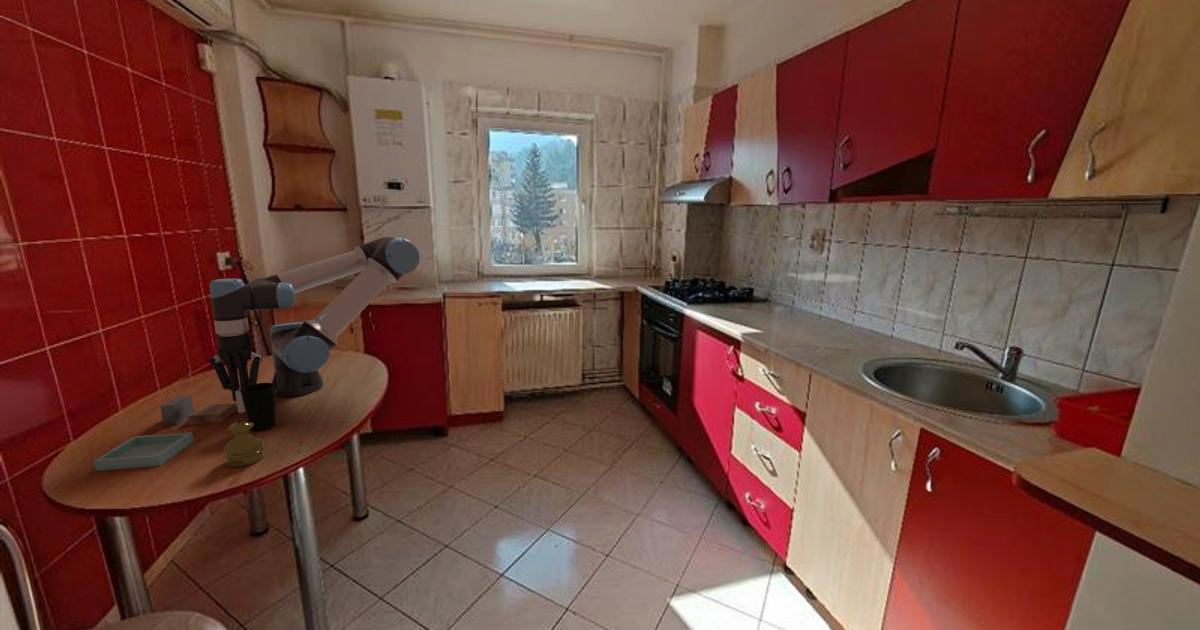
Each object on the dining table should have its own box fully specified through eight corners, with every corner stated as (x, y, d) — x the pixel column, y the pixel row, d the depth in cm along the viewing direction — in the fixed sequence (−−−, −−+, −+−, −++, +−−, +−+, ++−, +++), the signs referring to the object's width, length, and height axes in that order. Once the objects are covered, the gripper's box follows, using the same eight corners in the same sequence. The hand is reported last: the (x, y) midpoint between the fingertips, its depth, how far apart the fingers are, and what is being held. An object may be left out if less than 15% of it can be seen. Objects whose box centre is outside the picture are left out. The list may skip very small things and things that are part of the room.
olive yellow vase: (222, 470, 108) (216, 430, 106) (230, 456, 114) (224, 418, 112) (261, 463, 111) (256, 424, 109) (266, 450, 118) (261, 413, 116)
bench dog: (193, 414, 138) (190, 394, 137) (176, 425, 130) (173, 405, 129) (182, 414, 137) (178, 395, 136) (163, 426, 129) (160, 406, 128)
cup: (286, 424, 132) (281, 384, 130) (259, 436, 125) (253, 393, 123) (266, 420, 134) (261, 381, 132) (239, 431, 127) (233, 390, 125)
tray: (193, 441, 121) (192, 432, 121) (160, 465, 109) (158, 456, 109) (136, 445, 118) (134, 436, 118) (95, 471, 106) (93, 461, 106)
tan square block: (236, 412, 140) (235, 403, 140) (221, 423, 133) (220, 414, 132) (206, 414, 139) (204, 405, 138) (189, 426, 131) (187, 416, 130)
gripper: (264, 329, 137) (274, 404, 142) (213, 330, 134) (224, 407, 139) (252, 335, 130) (262, 414, 135) (198, 337, 127) (210, 417, 132)
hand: (243, 410), depth 137 cm, fingers closed
